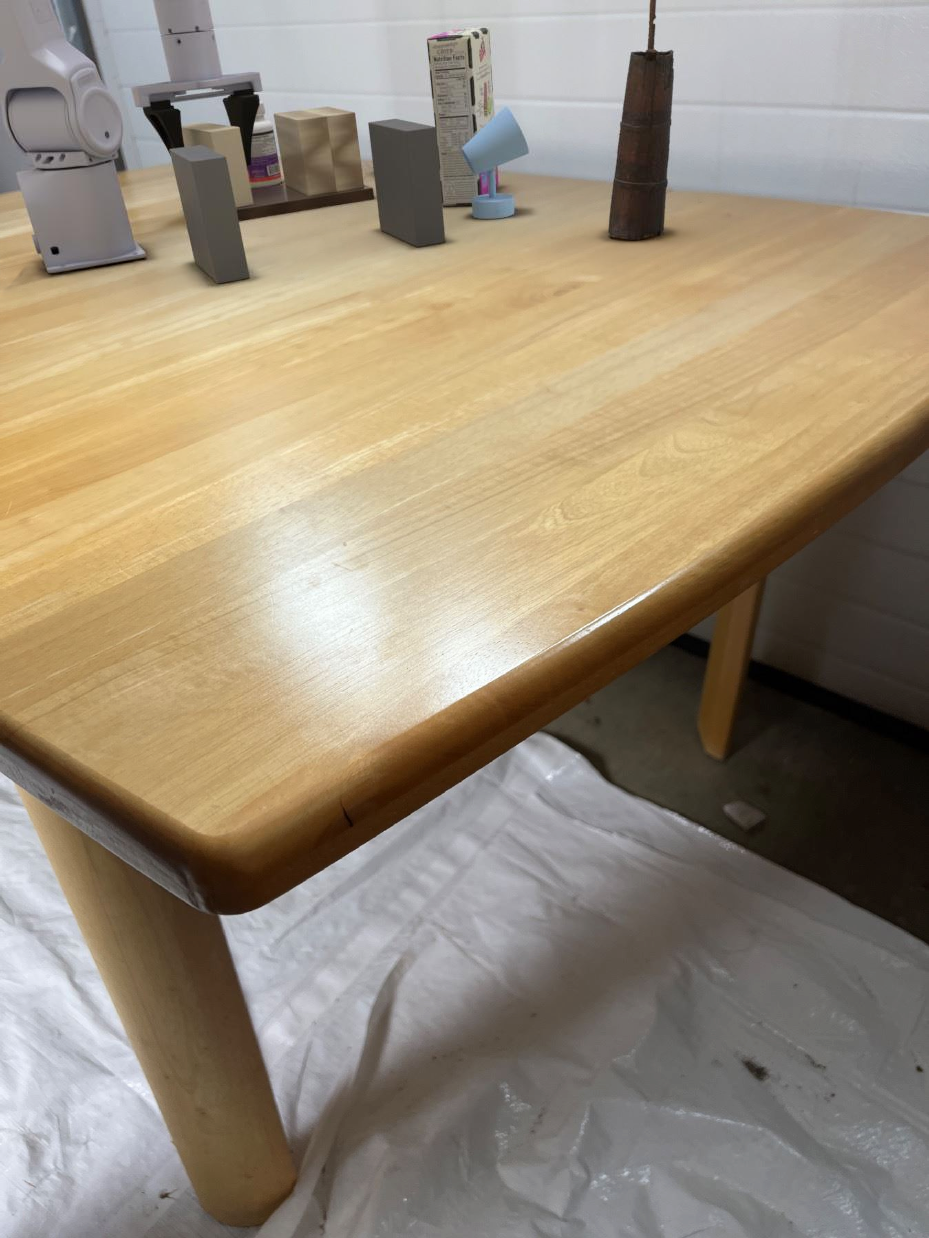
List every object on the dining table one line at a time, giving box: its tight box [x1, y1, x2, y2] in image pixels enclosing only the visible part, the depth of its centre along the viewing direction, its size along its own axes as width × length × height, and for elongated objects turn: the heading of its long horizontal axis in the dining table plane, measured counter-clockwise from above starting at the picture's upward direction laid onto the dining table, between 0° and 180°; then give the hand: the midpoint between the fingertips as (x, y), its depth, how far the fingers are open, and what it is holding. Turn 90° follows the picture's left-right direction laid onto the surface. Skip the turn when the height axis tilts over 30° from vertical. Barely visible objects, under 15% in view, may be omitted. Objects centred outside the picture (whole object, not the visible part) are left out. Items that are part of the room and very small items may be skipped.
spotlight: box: [461, 105, 530, 220], centre depth 96 cm, size 5×10×7 cm
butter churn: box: [607, 0, 675, 240], centre depth 78 cm, size 9×10×28 cm
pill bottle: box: [247, 100, 283, 189], centre depth 123 cm, size 5×5×10 cm
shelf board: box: [236, 106, 375, 221], centre depth 110 cm, size 20×12×9 cm, turn 115°
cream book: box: [181, 121, 254, 208], centre depth 108 cm, size 4×10×8 cm, turn 36°
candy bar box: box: [426, 26, 500, 207], centre depth 103 cm, size 11×5×16 cm, turn 168°
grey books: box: [169, 118, 446, 285], centre depth 87 cm, size 22×10×10 cm, turn 115°
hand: (215, 170), depth 108 cm, fingers open, 7 cm apart
